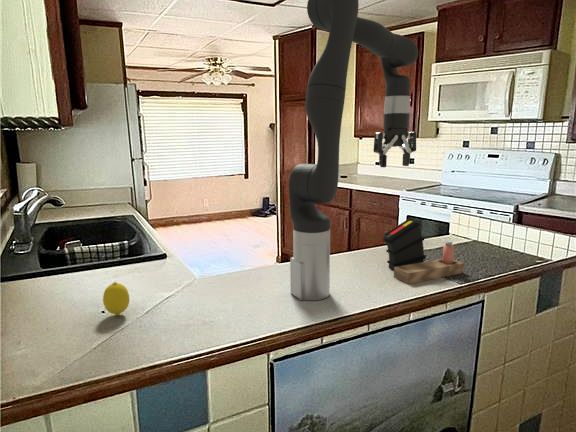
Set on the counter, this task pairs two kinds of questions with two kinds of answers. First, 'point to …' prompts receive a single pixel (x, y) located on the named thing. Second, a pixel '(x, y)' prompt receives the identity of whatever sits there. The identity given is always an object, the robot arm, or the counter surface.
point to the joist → (427, 270)
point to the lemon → (116, 298)
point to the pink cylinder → (448, 253)
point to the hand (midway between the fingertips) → (394, 166)
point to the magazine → (405, 244)
